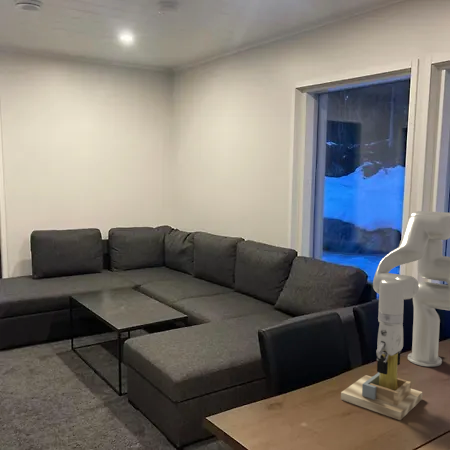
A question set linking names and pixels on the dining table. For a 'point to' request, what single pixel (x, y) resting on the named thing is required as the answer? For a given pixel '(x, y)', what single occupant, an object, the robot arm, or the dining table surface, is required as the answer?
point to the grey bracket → (370, 387)
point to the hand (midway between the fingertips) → (388, 368)
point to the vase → (390, 373)
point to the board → (384, 398)
